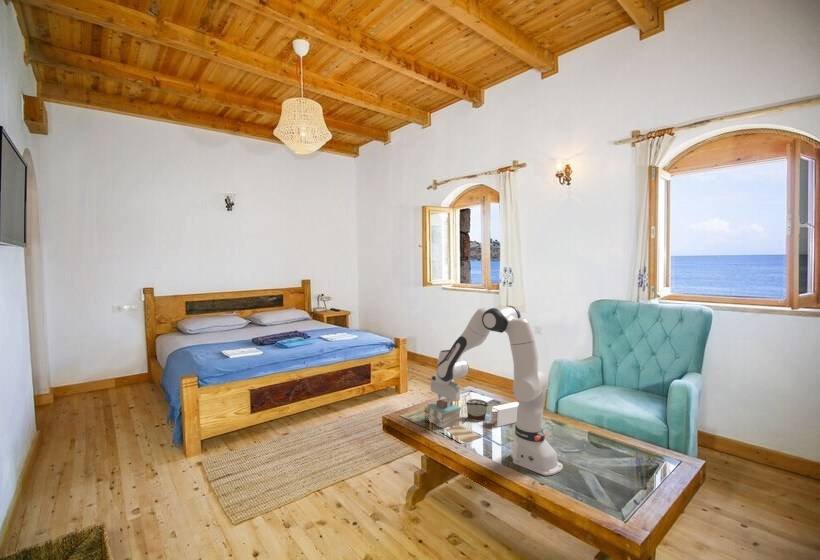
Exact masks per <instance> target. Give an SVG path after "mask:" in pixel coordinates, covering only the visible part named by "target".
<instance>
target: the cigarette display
mask: <svg viewBox="0 0 820 560" xmlns="http://www.w3.org/2000/svg"><path fill="white" fill-rule="evenodd" d="M518 405H519V402H518V401H513V402H509V403H504V404H499V405H493V406H492V407H491V408H492V409H493V410H496V411H491V418H490V419H491V420H490V424H491V425H493V426H494V427H496V428H499V427H502V426H503V427H504V426H507V425H511V424H515V423H517V408H518Z"/></svg>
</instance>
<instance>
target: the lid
mask: <svg viewBox="0 0 820 560" xmlns="http://www.w3.org/2000/svg"><path fill="white" fill-rule="evenodd" d="M446 402H448V400H447V398H442V400H439V399H438V400H436V402H433V403H428V404H427V408H428V409H429V408H431V409H433V410H436V411H438V412H440V413H442V414H447V413H450V412H454V411H458V410H460V411H461V410H462V407H461V406H458V405H456V404H454V403H453V401H451V402H450V406H446Z"/></svg>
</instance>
